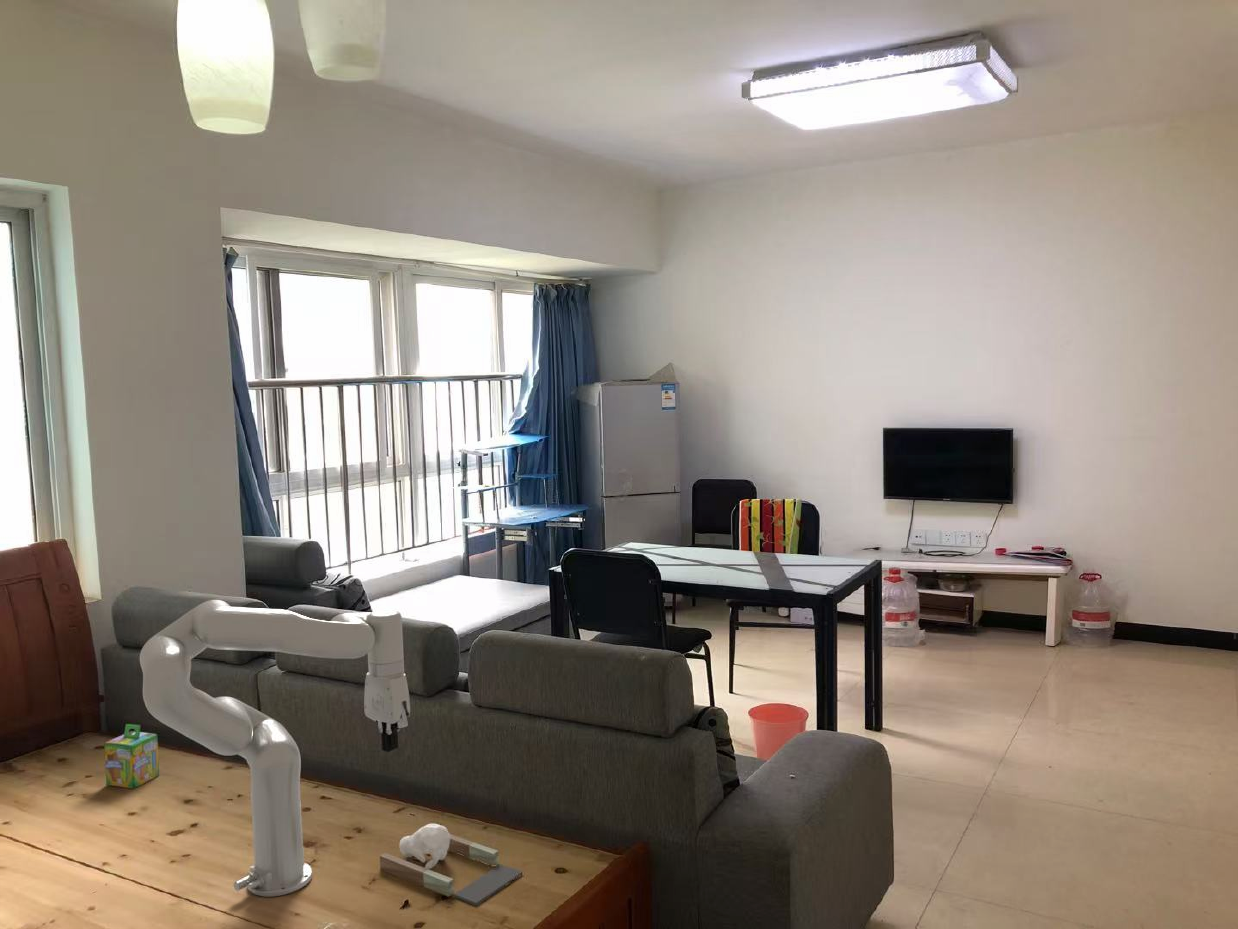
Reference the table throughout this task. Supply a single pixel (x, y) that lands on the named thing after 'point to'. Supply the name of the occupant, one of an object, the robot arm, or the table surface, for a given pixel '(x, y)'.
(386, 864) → the parallel bars
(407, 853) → the white figurine
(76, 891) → the table surface
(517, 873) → the mat
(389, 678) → the robot arm
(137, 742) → the chalk box
